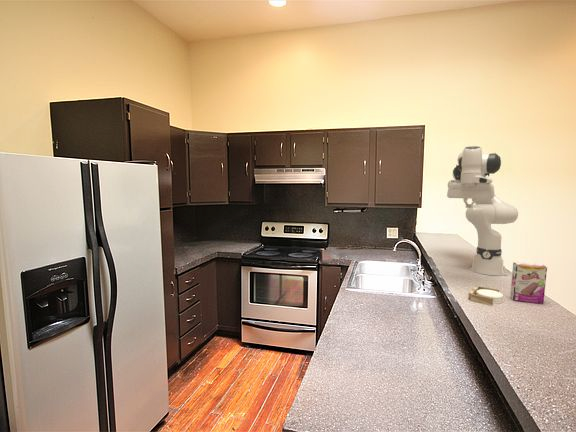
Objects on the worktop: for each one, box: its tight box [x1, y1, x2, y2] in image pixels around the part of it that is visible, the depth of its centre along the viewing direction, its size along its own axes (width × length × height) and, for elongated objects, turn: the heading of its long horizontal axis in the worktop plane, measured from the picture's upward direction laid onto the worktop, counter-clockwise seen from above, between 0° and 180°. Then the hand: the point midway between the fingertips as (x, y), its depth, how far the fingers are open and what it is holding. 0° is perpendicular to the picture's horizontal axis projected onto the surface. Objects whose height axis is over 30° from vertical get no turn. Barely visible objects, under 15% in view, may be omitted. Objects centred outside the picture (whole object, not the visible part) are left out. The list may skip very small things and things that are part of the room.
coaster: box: [476, 289, 504, 305], centre depth 140 cm, size 10×10×4 cm
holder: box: [467, 285, 500, 306], centre depth 141 cm, size 15×9×3 cm, turn 137°
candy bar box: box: [509, 262, 548, 305], centre depth 138 cm, size 11×5×16 cm, turn 70°
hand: (469, 207), depth 157 cm, fingers closed
